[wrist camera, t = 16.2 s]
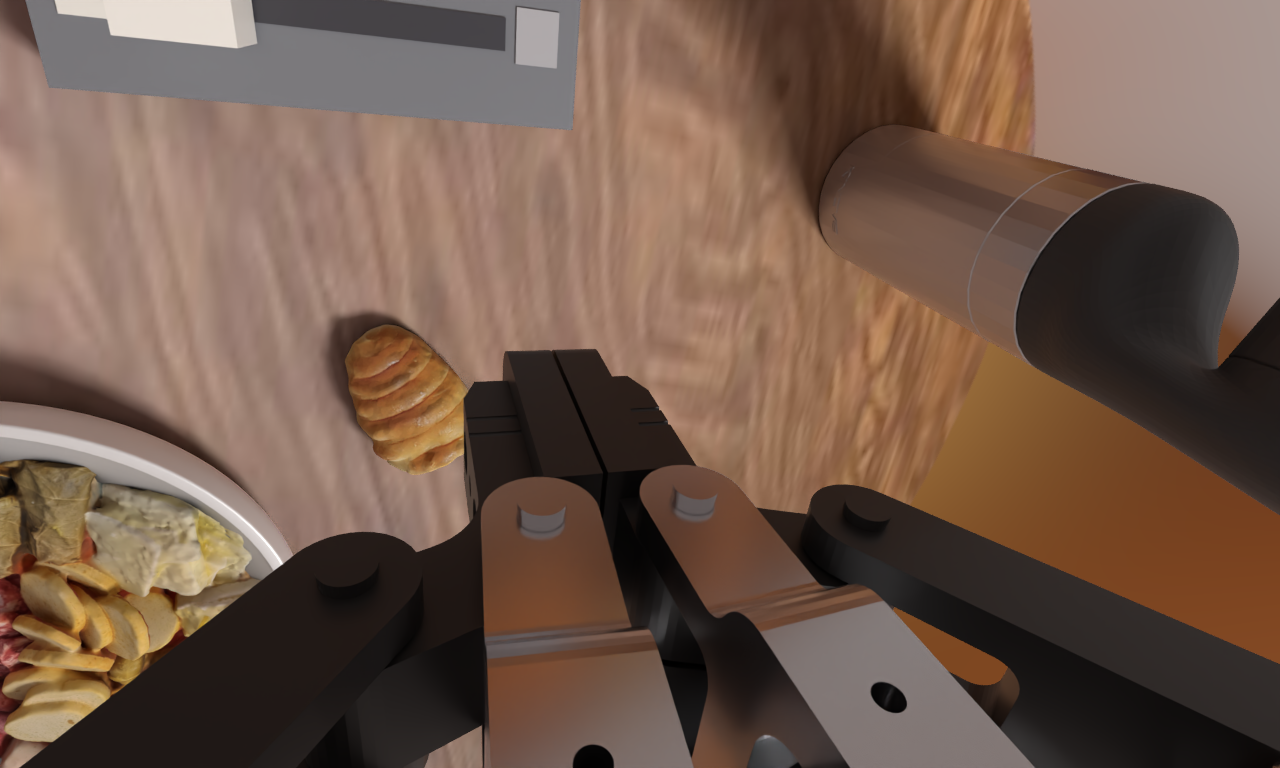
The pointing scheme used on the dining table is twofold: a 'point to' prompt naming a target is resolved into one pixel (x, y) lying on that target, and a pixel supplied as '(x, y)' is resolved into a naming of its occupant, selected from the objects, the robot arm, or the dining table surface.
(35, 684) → the bowl
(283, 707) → the robot arm
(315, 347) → the dining table surface
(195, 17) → the on slider
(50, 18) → the switch panel
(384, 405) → the pastry
